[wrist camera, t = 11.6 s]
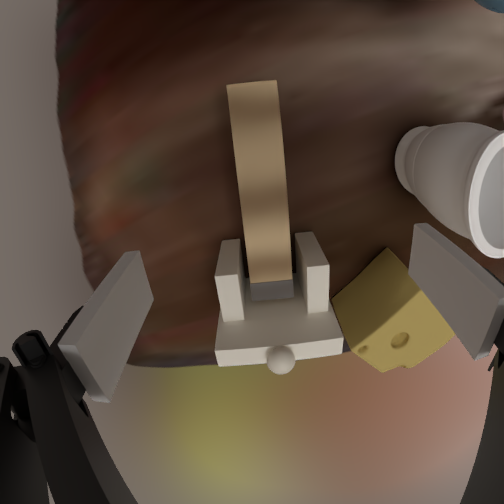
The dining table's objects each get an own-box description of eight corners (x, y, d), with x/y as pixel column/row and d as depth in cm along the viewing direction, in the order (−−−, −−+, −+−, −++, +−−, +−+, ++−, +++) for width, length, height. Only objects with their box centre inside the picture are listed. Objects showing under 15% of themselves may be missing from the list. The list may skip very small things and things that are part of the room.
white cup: (392, 212, 32) (467, 275, 18) (376, 124, 28) (464, 137, 14) (460, 193, 31) (541, 240, 17) (450, 113, 27) (544, 127, 13)
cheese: (371, 336, 40) (394, 386, 31) (325, 297, 37) (345, 351, 28) (425, 288, 37) (460, 332, 28) (386, 240, 34) (426, 282, 24)
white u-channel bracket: (217, 241, 33) (199, 319, 21) (316, 231, 33) (355, 303, 20) (226, 295, 36) (217, 384, 24) (317, 286, 36) (346, 371, 23)
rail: (230, 91, 27) (225, 84, 21) (271, 87, 26) (277, 79, 21) (251, 271, 35) (252, 301, 30) (286, 268, 35) (293, 297, 29)
